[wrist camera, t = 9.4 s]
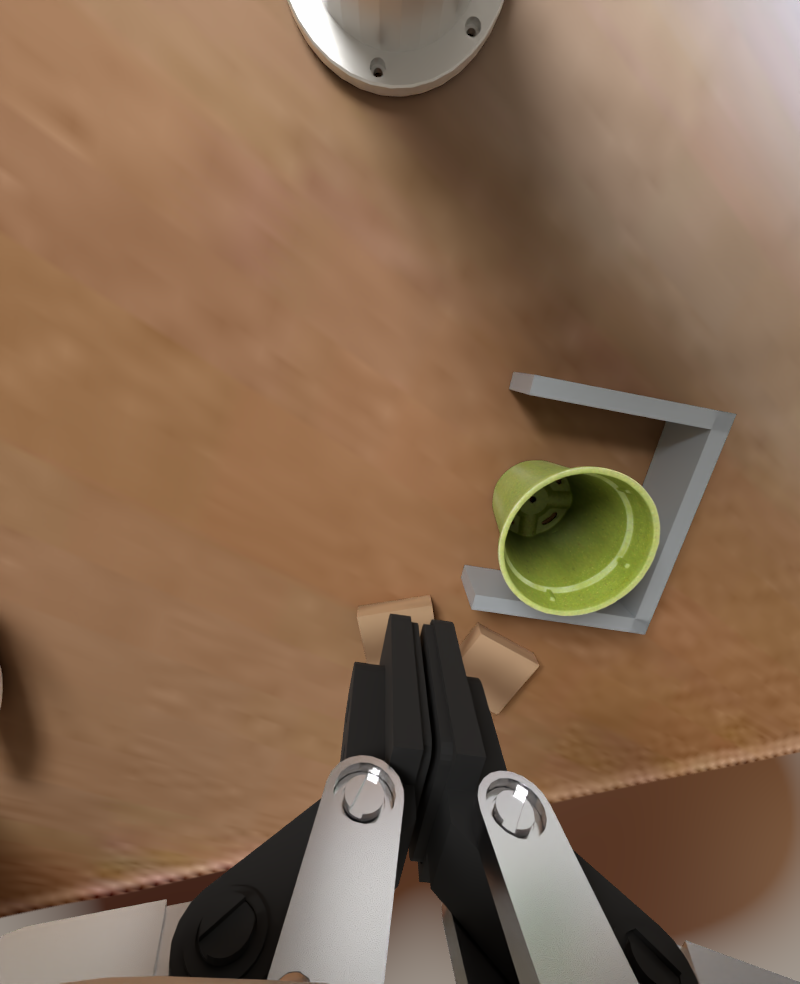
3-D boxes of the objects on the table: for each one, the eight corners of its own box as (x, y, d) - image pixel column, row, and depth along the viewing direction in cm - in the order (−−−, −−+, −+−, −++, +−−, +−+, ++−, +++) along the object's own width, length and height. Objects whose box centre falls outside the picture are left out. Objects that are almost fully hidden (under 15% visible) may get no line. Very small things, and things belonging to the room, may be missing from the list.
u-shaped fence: (513, 371, 30) (534, 374, 26) (688, 405, 31) (736, 414, 27) (461, 578, 35) (471, 609, 31) (614, 601, 36) (644, 634, 32)
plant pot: (616, 496, 33) (693, 543, 25) (524, 575, 35) (566, 643, 27) (539, 411, 31) (595, 431, 23) (445, 500, 33) (465, 549, 25)
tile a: (358, 603, 36) (357, 617, 34) (429, 592, 36) (432, 605, 34) (370, 662, 38) (370, 678, 36) (438, 652, 38) (441, 667, 36)
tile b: (476, 619, 37) (481, 633, 35) (531, 649, 38) (539, 665, 36) (437, 669, 38) (440, 686, 36) (492, 697, 39) (497, 714, 37)
